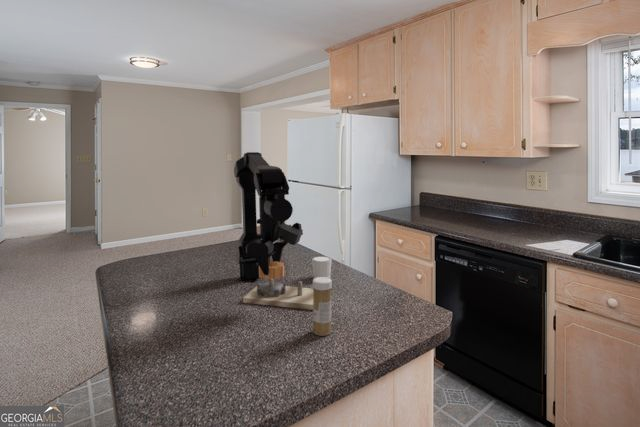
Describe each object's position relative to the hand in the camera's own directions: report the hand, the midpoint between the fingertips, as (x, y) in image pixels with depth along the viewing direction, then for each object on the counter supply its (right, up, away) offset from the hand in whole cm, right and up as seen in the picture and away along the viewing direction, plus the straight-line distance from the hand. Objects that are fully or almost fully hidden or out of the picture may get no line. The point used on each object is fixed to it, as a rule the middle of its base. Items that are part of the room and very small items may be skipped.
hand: (271, 270), depth 104 cm
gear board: (+3, -10, +9) cm, 13 cm away
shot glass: (+14, -7, +26) cm, 31 cm away
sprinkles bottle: (+14, -13, -12) cm, 23 cm away
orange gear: (0, -1, 0) cm, 1 cm away
